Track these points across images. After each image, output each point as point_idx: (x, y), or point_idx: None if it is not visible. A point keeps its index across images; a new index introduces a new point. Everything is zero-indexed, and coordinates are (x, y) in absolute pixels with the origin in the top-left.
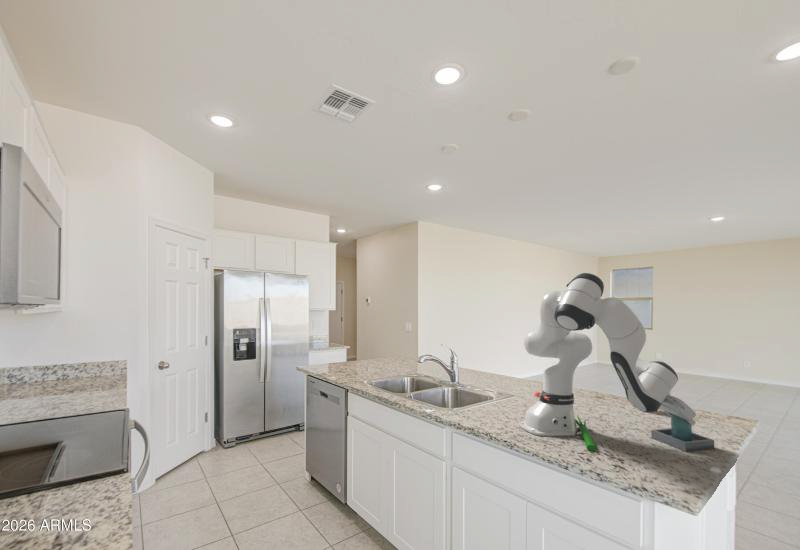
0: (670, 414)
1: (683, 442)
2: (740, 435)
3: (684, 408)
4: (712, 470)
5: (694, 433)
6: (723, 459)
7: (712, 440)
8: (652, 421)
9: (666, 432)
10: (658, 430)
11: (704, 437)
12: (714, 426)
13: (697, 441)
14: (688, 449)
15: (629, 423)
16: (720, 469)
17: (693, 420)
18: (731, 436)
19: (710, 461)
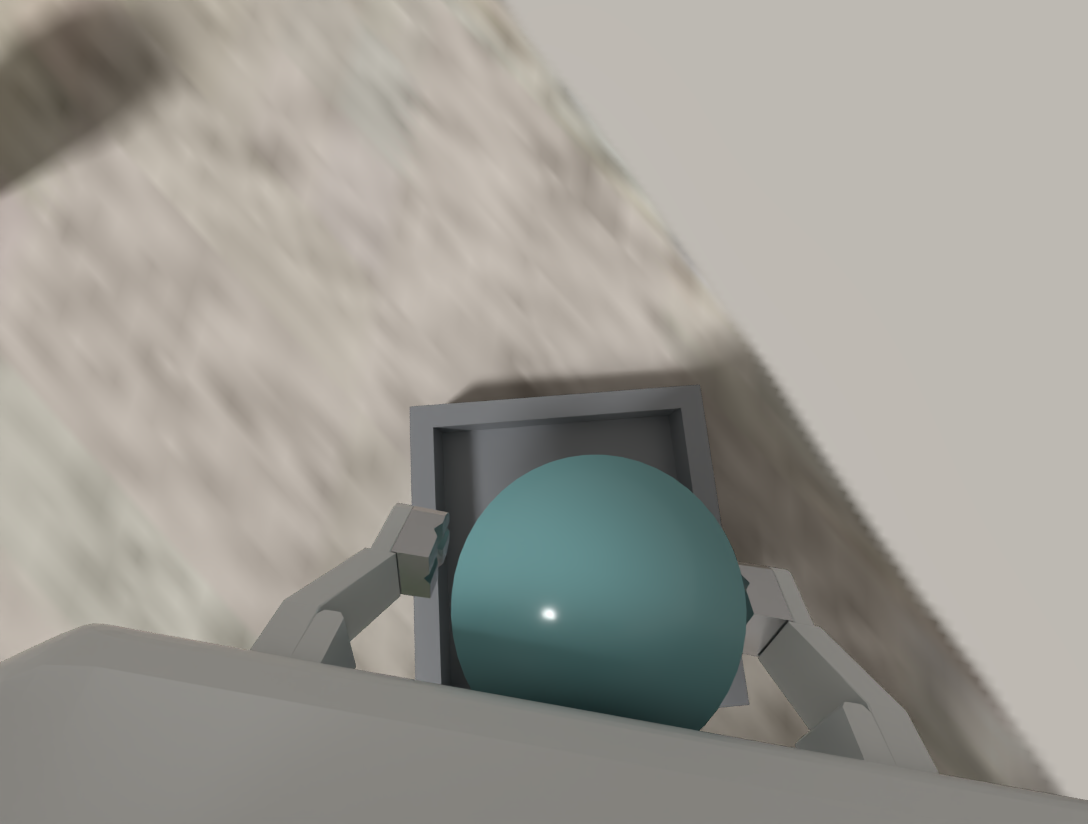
0: (434, 583)
1: (731, 704)
2: (497, 29)
3: (876, 807)
4: (1014, 779)
5: (556, 404)
6: (840, 512)
7: (701, 401)
8: (130, 352)
9: (444, 566)
10: (441, 670)
11: (643, 406)
12: (335, 27)
13: None
14: None
15: (106, 599)
16: (994, 699)
17: (800, 604)
18: (503, 93)
19: (872, 640)
